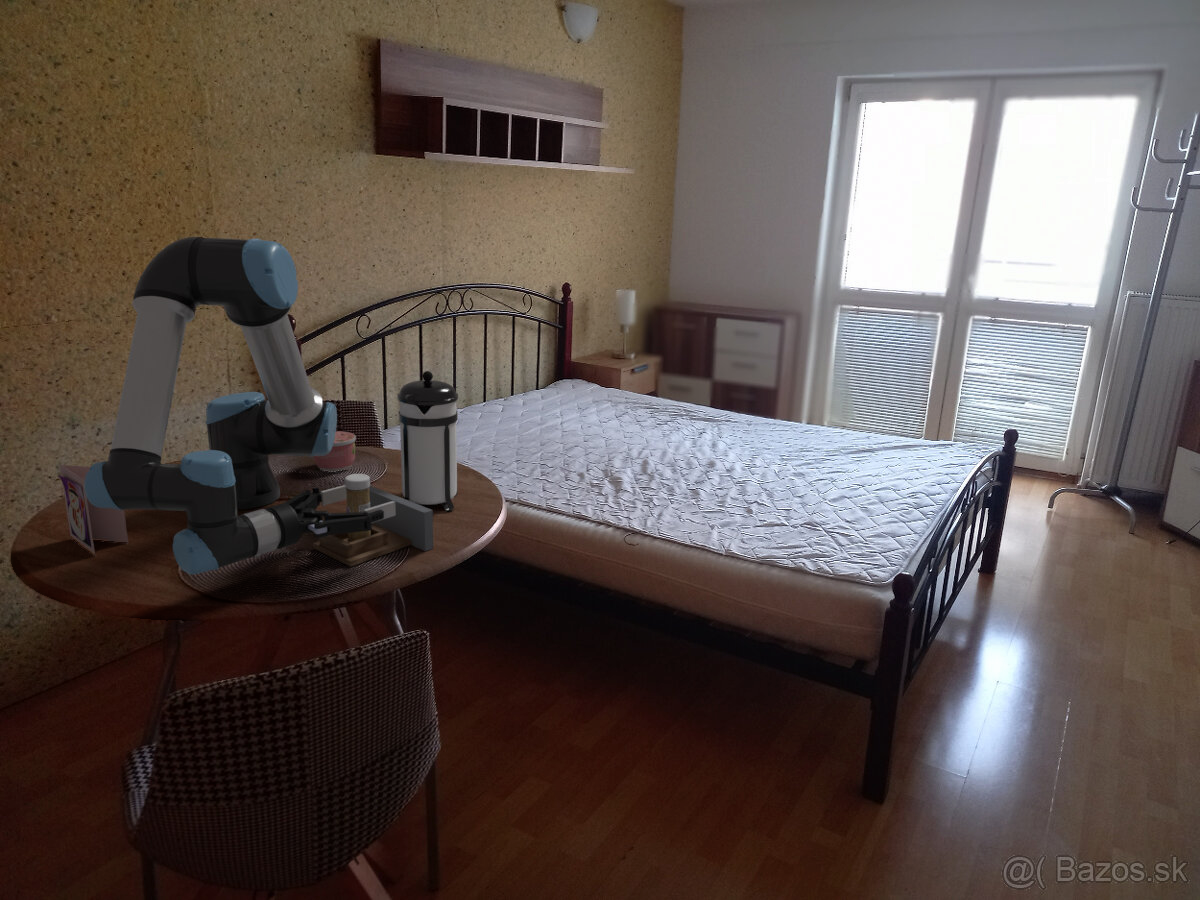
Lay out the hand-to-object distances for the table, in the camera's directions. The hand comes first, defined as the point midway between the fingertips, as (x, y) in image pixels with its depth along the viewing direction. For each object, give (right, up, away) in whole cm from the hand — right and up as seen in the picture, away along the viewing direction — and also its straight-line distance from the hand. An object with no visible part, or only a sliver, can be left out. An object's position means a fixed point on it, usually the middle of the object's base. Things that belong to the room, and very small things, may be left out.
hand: (372, 499), depth 160 cm
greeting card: (-51, -8, -2) cm, 52 cm away
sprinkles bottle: (-2, -9, 0) cm, 9 cm away
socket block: (-2, -9, +1) cm, 10 cm away
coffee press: (+5, -2, +27) cm, 27 cm away
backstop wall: (+3, -8, +7) cm, 11 cm away
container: (-22, +5, +46) cm, 51 cm away
